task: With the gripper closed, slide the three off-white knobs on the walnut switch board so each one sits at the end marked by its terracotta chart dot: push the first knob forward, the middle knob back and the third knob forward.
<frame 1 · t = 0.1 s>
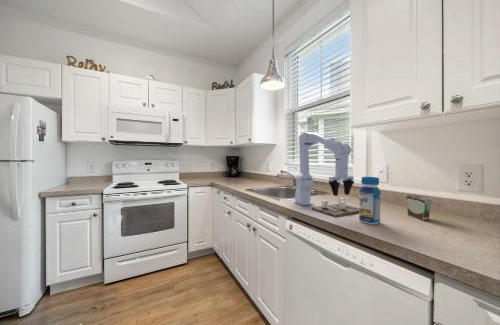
hand: (341, 195, 103), 10 cm above the worktop, fingers open, 7 cm apart
knob a: (324, 203, 111), point 4 cm above the worktop, slide at 0.0 cm
knob c: (341, 201, 117), point 4 cm above the worktop, slide at 0.0 cm
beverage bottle: (369, 222, 92), on the worktop
food container: (421, 218, 98), on the worktop
knob b: (342, 204, 109), point 4 cm above the worktop, slide at 6.0 cm
switch board: (337, 210, 111), on the worktop
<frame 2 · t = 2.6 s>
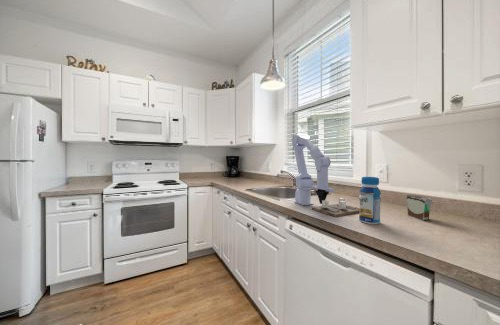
hand: (322, 203, 113), 3 cm above the worktop, fingers closed
knob a: (325, 203, 111), point 4 cm above the worktop, slide at 0.4 cm, touching gripper
everything else where it was.
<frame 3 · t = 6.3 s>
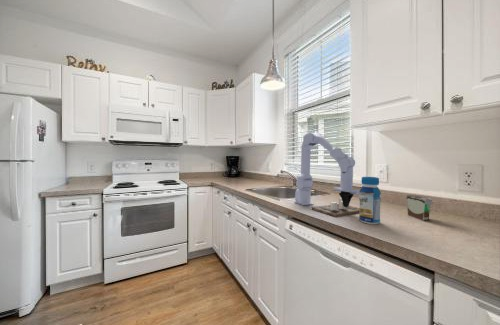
hand: (346, 206, 107), 3 cm above the worktop, fingers closed
knob a: (333, 206, 106), point 4 cm above the worktop, slide at 6.1 cm
knob b: (342, 204, 109), point 4 cm above the worktop, slide at 6.0 cm, touching gripper
everything else where it was.
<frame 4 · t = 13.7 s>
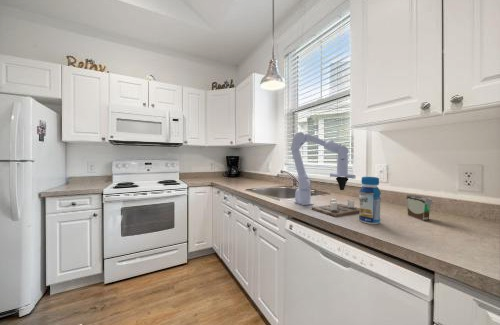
hand: (342, 190, 120), 10 cm above the worktop, fingers closed
knob c: (351, 203, 111), point 4 cm above the worktop, slide at 6.1 cm
knob b: (333, 202, 114), point 4 cm above the worktop, slide at -0.1 cm
everything else where it was.
at the end: knob a slide at 6.1 cm; knob b slide at -0.1 cm; knob c slide at 6.1 cm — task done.
